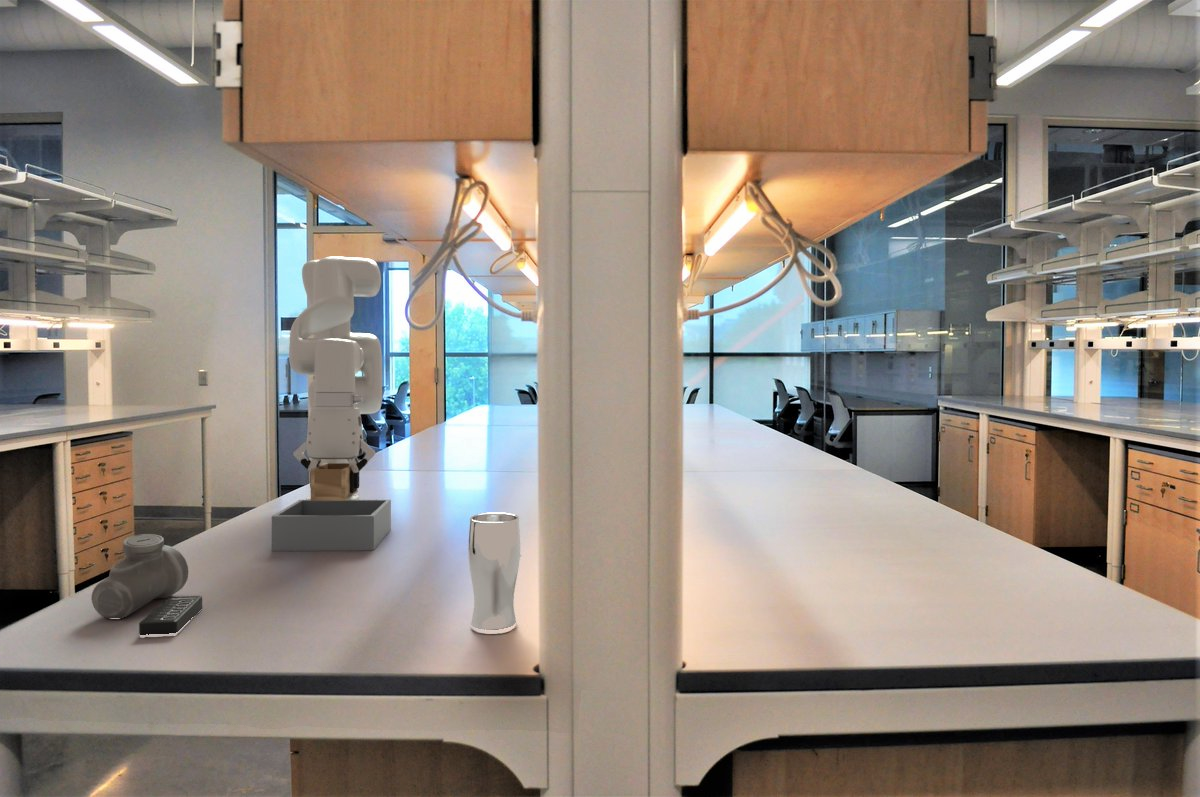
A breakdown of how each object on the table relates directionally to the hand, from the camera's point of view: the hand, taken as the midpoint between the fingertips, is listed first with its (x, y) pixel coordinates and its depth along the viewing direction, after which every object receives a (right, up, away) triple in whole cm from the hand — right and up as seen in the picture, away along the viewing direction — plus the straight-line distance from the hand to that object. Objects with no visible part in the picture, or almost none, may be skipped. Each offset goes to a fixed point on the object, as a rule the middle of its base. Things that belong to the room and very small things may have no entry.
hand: (334, 491), depth 146 cm
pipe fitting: (-14, -12, -41) cm, 44 cm away
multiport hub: (-5, -13, -46) cm, 48 cm away
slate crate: (0, -10, +1) cm, 10 cm away
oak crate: (0, -1, 0) cm, 1 cm away
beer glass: (+38, -13, -46) cm, 61 cm away
